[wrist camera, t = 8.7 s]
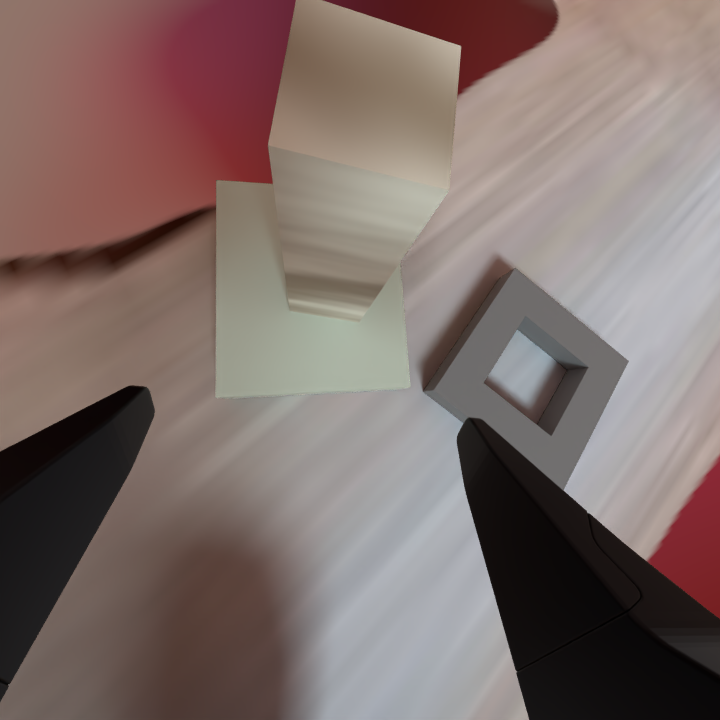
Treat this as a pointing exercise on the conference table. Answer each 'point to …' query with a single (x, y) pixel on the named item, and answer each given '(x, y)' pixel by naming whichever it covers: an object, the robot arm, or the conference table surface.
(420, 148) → the cream block
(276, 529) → the conference table surface
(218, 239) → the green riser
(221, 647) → the conference table surface
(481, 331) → the pocket holder
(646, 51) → the conference table surface
